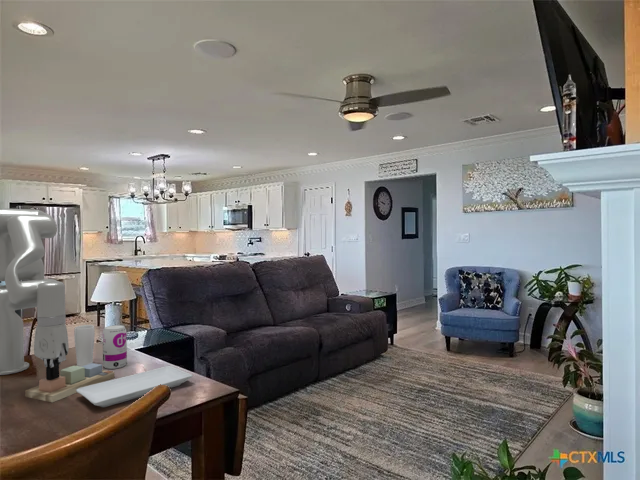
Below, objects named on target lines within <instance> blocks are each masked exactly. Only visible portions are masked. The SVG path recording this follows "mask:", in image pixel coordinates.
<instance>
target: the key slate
mask: <svg viewBox="0 0 640 480" xmlns="http://www.w3.org/2000/svg"><path fill="white" fill-rule="evenodd" d="M82 367H85V377H88V378H91V377H93V376H96V375H98V374H100V373H102V370H103V364H100V363H94V362H93V363H91V364H88V365H85V366H82Z"/></svg>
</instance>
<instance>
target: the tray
mask: <svg viewBox="0 0 640 480" xmlns="http://www.w3.org/2000/svg"><path fill="white" fill-rule="evenodd" d="M193 376H194V375H193V374H192V373H189V372H186V371H184V370H182V369H179V368H177V367H174V366H172V365H165V366H162V367H158V368H154V369H150V370H145V371H142V372H138V373H135V374H131V375H126V376H122V377H118V378H112V379H110V380H107V381H105V382H101V383H97V384H93V385H89V386H85V387H81V388H78V389H77V390H76V392H77V393H78V394H79V395H81V396H83V397H84V398H85V399H86V400H88V401H89V402H90V403H91V404H93V406H97V407H100V408H107V407H110V406H114V405H117V404H120V403H123V402H127V401H130V400H134V399H138V398H141V397H144V396H143V395H144V394H146V393H147V392H149V391H150V390H152V389H153V388H154V387H156V386H158V385H160V384H161V385H167V386H169V387H171V388H172V389H173V388H174V387H178V386H181V384H183V383H185V382H186V381H188V380H190V379H191V378H193ZM171 388H170V389H171Z"/></svg>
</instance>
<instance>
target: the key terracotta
mask: <svg viewBox="0 0 640 480" xmlns="http://www.w3.org/2000/svg"><path fill="white" fill-rule="evenodd" d="M38 383H39V384H38V386H39V391H44V392H49V393H51V392H54V391H56V390H59V389H61V388H64V387H66V386H65V377H63V376H60V375H59V377H58V378H56V379H53V380H47V379H46V377H44V378H41V379H39V381H38Z"/></svg>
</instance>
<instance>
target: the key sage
mask: <svg viewBox="0 0 640 480" xmlns="http://www.w3.org/2000/svg"><path fill="white" fill-rule="evenodd" d="M59 376H63V377H65V383H67V384H69V385H72V384H75V383H76V382H78V381H81V380H84V379H85V367H80V366H77V365H72V366H71V365H70V366H67V367H65V368H62V369H59Z"/></svg>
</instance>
